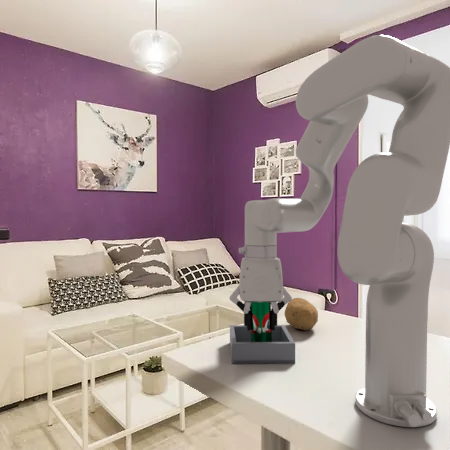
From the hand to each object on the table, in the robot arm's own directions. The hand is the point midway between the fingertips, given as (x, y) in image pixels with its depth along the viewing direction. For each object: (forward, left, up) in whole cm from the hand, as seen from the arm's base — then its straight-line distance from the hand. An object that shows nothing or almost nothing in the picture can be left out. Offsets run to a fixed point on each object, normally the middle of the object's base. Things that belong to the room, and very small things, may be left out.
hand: (260, 328), depth 93 cm
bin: (0, 0, -6) cm, 6 cm away
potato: (+19, -14, -6) cm, 24 cm away
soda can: (0, 0, -4) cm, 4 cm away
